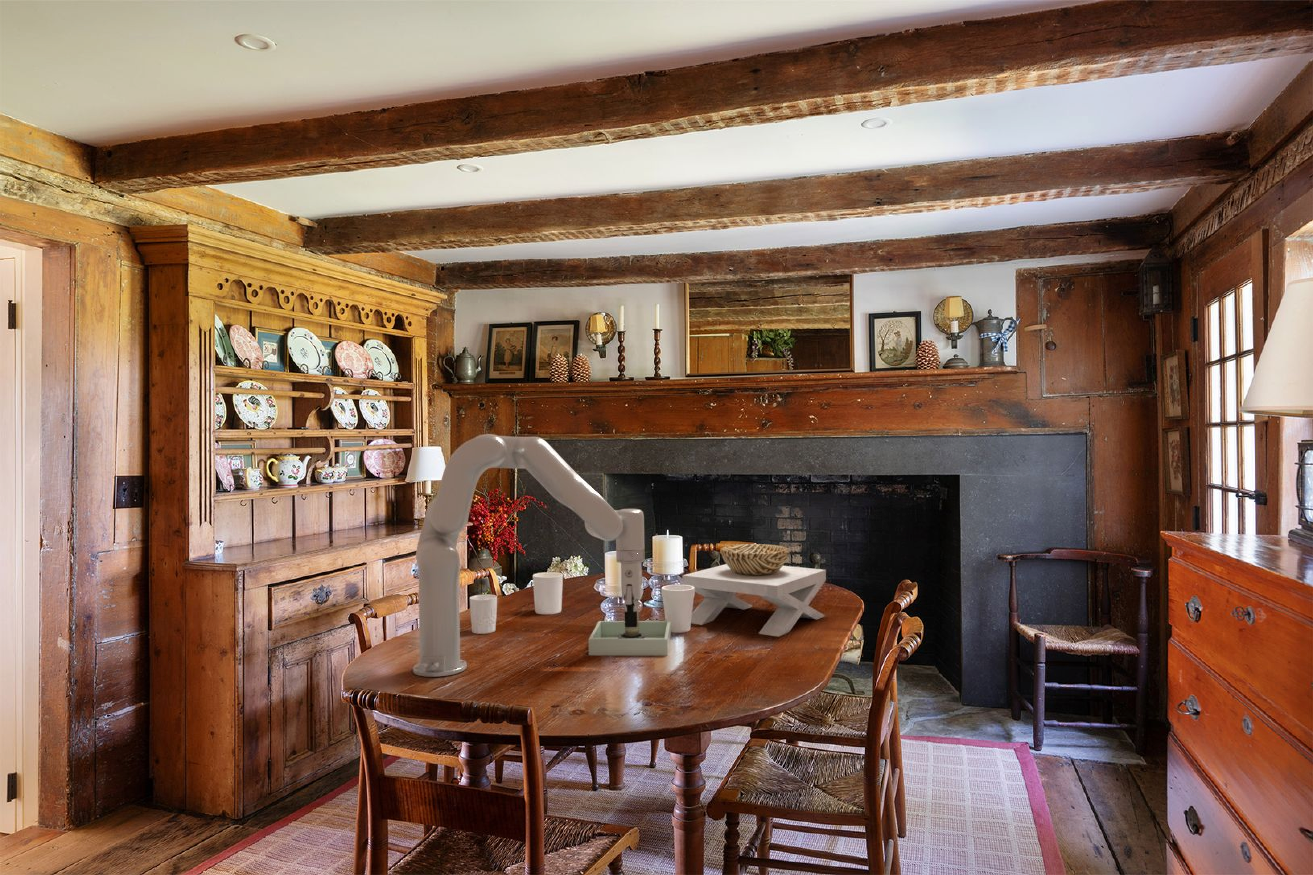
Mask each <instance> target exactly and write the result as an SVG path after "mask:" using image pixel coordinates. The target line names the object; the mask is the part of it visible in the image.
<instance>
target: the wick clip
mask: <svg viewBox="0 0 1313 875" xmlns="http://www.w3.org/2000/svg"><path fill="white" fill-rule="evenodd" d="M618 639H645V634H643V633H639V635H637V636H626V635H625V633H622V634H619V635H618Z"/></svg>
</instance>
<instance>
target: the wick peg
mask: <svg viewBox="0 0 1313 875" xmlns="http://www.w3.org/2000/svg"><path fill="white" fill-rule="evenodd" d="M632 600H634V597H632ZM632 603H633V602H632ZM636 611H637V627H625V635H626V636H637V635H639V621H640V620H639V619H640V618H639V601H638V599H636Z"/></svg>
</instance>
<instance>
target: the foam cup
mask: <svg viewBox="0 0 1313 875" xmlns="http://www.w3.org/2000/svg"><path fill="white" fill-rule="evenodd" d="M695 594H696V592H695V587H693V586H690V585H683V584H668V585H664V586H662V587H661V598H662V603H663V611H664V618H665V621H670V622H671V633H677V634H678V633H687V632H689V631H691V626H692V625H691V624H692V623H691V617H692V612H693V607H694V599H695Z"/></svg>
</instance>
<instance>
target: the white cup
mask: <svg viewBox="0 0 1313 875" xmlns="http://www.w3.org/2000/svg"><path fill="white" fill-rule="evenodd" d="M497 608H498V595H495V594H490V593H489V594H486V593H485V594H476V595H472V596H470V597H469V611H470V623H471V632H472V634H478V635H482V634H484V635H485V634H486V635H487V634H491V633H494V632H496V628H497V627H496V626H497V624H496V623H497V617H498V616H497V613H498V612H497V611H498V609H497Z"/></svg>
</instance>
